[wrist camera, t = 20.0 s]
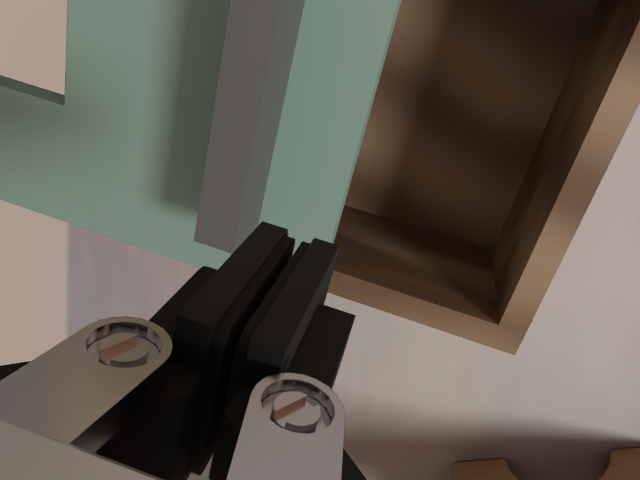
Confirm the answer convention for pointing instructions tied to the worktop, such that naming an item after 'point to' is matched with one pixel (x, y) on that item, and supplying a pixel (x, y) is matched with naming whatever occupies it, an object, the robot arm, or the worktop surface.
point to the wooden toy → (495, 476)
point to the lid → (199, 120)
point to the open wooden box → (484, 158)
